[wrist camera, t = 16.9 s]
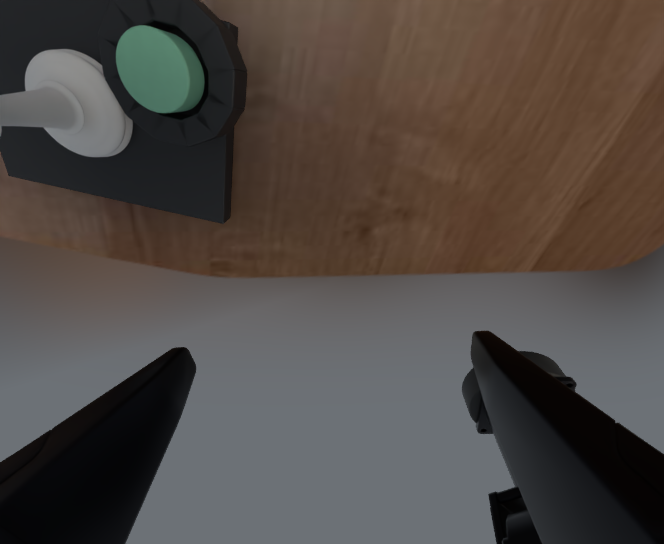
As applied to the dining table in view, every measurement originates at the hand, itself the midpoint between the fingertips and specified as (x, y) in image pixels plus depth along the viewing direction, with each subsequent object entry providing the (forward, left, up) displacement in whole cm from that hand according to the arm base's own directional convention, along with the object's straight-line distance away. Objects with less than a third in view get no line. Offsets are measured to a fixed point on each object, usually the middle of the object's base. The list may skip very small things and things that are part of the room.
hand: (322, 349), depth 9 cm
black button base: (+8, +12, -12) cm, 18 cm away
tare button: (+9, +6, -9) cm, 14 cm away
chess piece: (+8, +12, -11) cm, 18 cm away
